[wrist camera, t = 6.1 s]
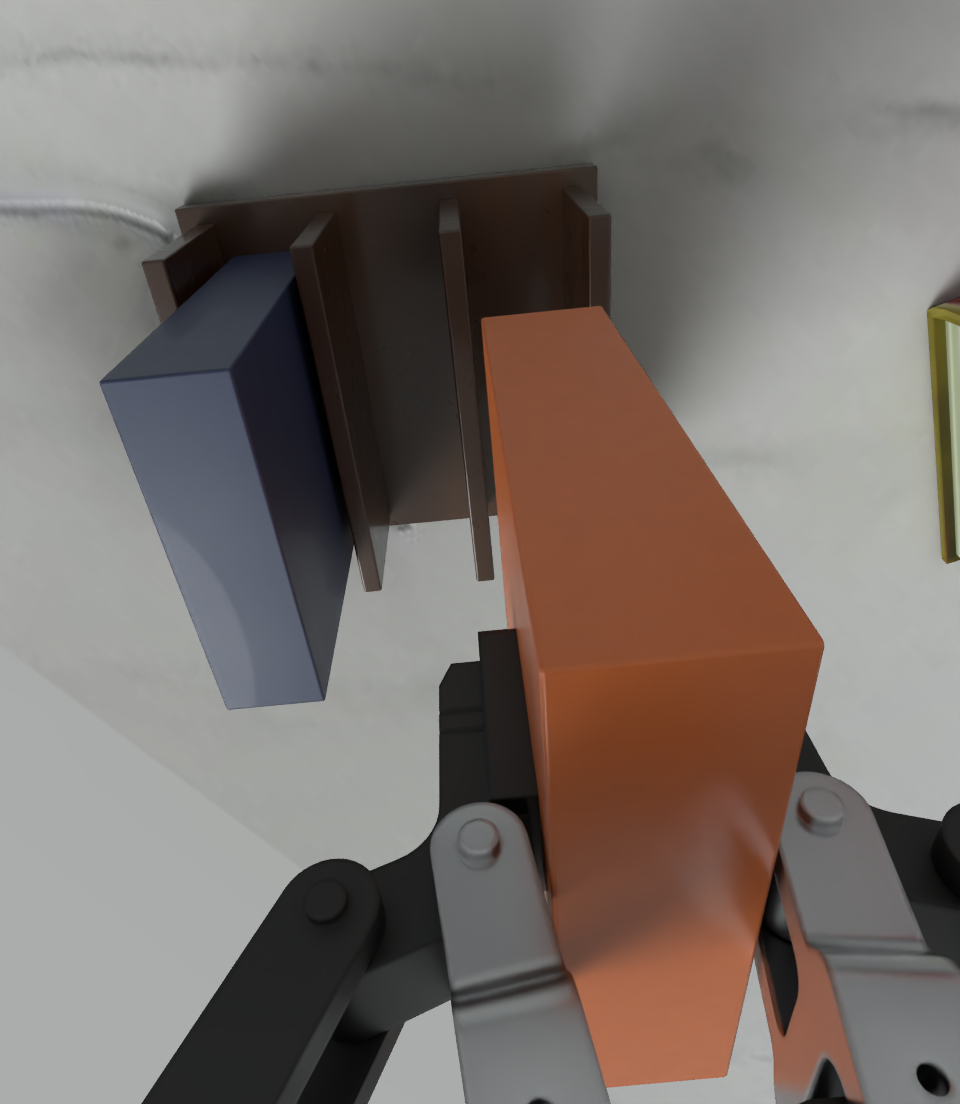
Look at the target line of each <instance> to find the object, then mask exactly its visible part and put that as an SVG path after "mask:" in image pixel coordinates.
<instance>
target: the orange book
mask: <svg viewBox="0 0 960 1104" xmlns="http://www.w3.org/2000/svg"><path fill="white" fill-rule="evenodd" d="M481 326H482V337H483V349H484V361H485V372H486V384H487V395H488V407H489V419H490V430H491V442H492V454H493V465H494V477H495V488H496V500H497V512H498V523H499V535H500V547H501V558H502V570H503V581H504V593H505V605H506V616H507V628H508V629H513V628H516V633H517V641H518V648H519V655H520V663H521V670H522V677H523V685H524V692H525V699H526V707H527V714H528V722H529V729H530V736H531V744H532V751H533V758H534V766H535V773H536V781H537V788H538V796H539V811H540V826H541V841H542V856H543V871H544V886H545V892H544V894H545V898H546V901H547V905H548V908H549V912H550V916H551V919H552V923H553V926H554V930H555V933H556V937H557V940H558V944H559V948H560V951H561V955H562V958H563V961H564V964H565V966H566V969H567V970H569V971H570V972H571V974H572V976H573V978H574V981H575V984H576V986H577V989H578V993H579V996H580V999H581V1002H582V1006H583V1009H584V1013H585V1016H586V1020H587V1023H588V1027H589V1030H590V1034H591V1037H592V1041H593V1044H594V1048H595V1051H596V1054H597V1058H598V1061H599V1065H600V1068H601V1072H602V1075H603V1079H604V1082H605V1086H606V1088H608V1087H618V1086H629V1085H640V1084H651V1083H662V1082H673V1081H684V1080H695V1079H706V1078H717V1077H725V1076H726V1075H727V1073H728V1068H729V1064H730V1060H731V1055H732V1051H733V1046H734V1042H735V1038H736V1033H737V1029H738V1024H739V1020H740V1016H741V1011H742V1007H743V1002H744V998H745V994H746V989H747V985H748V980H749V976H750V972H751V967H752V963H753V958H754V954H755V950H756V945H757V941H758V936H759V932H760V928H761V923H762V919H763V914H764V910H765V905H766V901H767V897H768V892H769V888H770V883H771V879H772V875H773V870H774V866H775V861H776V857H777V853H778V848H779V844H780V839H781V835H782V831H783V826H784V822H785V817H786V813H787V809H788V804H789V800H790V795H791V791H792V787H793V782H794V778H795V773H796V769H797V765H798V760H799V756H800V751H801V747H802V743H803V738H804V734H805V729H806V725H807V721H808V716H809V712H810V707H811V703H812V699H813V694H814V690H815V685H816V681H817V677H818V672H819V668H820V663H821V659H822V655H823V650H824V642H823V639H822V638H821V636H820V635H819V633H818V632H817V630H816V629H815V627H814V626H813V624H812V623H811V621H810V620H809V618H808V617H807V615H806V614H805V612H804V611H803V609H802V608H801V606H800V605H799V603H798V602H797V600H796V599H795V597H794V596H793V594H792V593H791V591H790V590H789V588H788V587H787V585H786V583H785V582H784V580H783V579H782V577H781V576H780V574H779V573H778V571H777V570H776V568H775V567H774V565H773V564H772V562H771V561H770V559H769V558H768V556H767V555H766V553H765V552H764V550H763V549H762V547H761V546H760V544H759V543H758V541H757V540H756V538H755V537H754V535H753V534H752V532H751V531H750V529H749V528H748V526H747V525H746V523H745V522H744V520H743V519H742V517H741V516H740V514H739V513H738V511H737V510H736V508H735V507H734V505H733V504H732V502H731V501H730V499H729V498H728V496H727V495H726V493H725V492H724V490H723V489H722V487H721V486H720V484H719V483H718V481H717V480H716V478H715V477H714V475H713V474H712V472H711V471H710V469H709V468H708V466H707V464H706V463H705V461H704V460H703V458H702V457H701V455H700V454H699V452H698V451H697V449H696V448H695V446H694V445H693V443H692V442H691V440H690V439H689V437H688V436H687V434H686V433H685V431H684V430H683V428H682V427H681V425H680V424H679V422H678V421H677V419H676V418H675V416H674V415H673V413H672V412H671V410H670V409H669V407H668V406H667V404H666V403H665V401H664V400H663V398H662V397H661V395H660V394H659V392H658V391H657V389H656V388H655V386H654V385H653V383H652V382H651V380H650V379H649V377H648V376H647V374H646V373H645V371H644V370H643V368H642V367H641V365H640V364H639V362H638V361H637V359H636V358H635V356H634V355H633V353H632V352H631V350H630V349H629V347H628V345H627V344H626V342H625V341H624V339H623V338H622V336H621V335H620V333H619V332H618V330H617V329H616V327H615V326H614V324H613V323H612V321H611V320H610V318H609V317H608V315H607V314H606V312H605V311H604V309H603V308H602V307H601V306H593V307H583V308H574V309H564V310H554V311H544V312H534V313H524V314H515V315H505V316H495V317H485V318H482V320H481Z"/></svg>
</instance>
